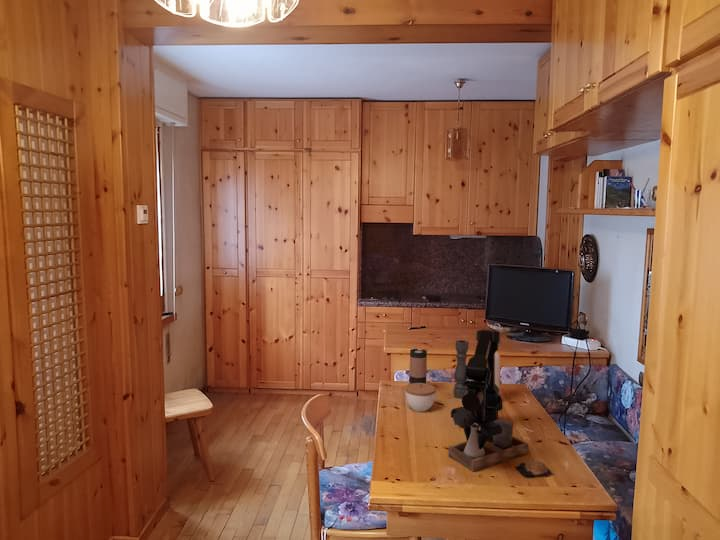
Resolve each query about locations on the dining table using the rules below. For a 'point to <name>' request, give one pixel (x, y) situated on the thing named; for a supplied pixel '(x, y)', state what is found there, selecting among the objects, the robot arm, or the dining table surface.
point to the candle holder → (460, 368)
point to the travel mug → (418, 366)
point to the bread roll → (533, 469)
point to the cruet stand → (492, 449)
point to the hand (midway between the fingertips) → (474, 445)
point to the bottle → (497, 369)
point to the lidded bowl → (420, 396)
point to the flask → (474, 444)
